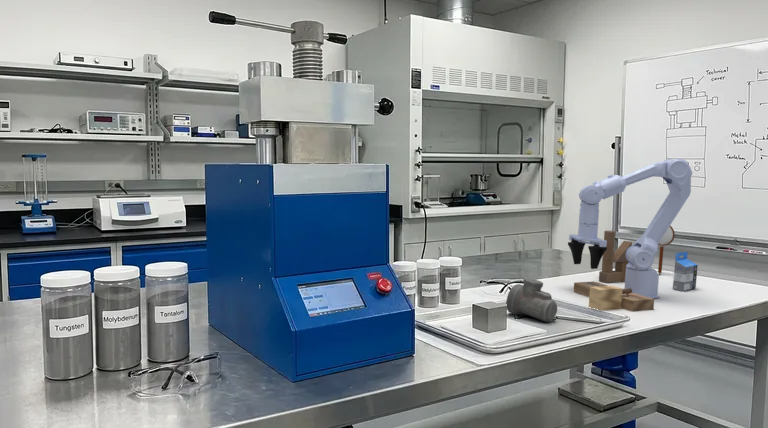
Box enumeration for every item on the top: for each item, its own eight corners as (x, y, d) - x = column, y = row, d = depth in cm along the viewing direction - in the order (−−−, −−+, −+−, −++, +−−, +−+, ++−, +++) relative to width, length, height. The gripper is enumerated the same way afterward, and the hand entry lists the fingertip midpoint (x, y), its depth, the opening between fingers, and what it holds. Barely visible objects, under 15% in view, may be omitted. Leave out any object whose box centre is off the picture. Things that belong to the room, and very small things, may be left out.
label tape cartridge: (683, 292, 184) (687, 254, 182) (671, 289, 187) (674, 253, 186) (696, 289, 189) (699, 253, 188) (684, 286, 192) (687, 251, 191)
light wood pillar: (623, 304, 164) (625, 284, 164) (634, 308, 160) (636, 287, 160) (588, 307, 159) (590, 286, 159) (598, 311, 156) (600, 289, 155)
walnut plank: (593, 290, 181) (594, 281, 181) (653, 309, 159) (654, 298, 159) (573, 291, 178) (574, 282, 178) (631, 311, 156) (632, 300, 156)
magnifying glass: (672, 277, 209) (676, 223, 207) (669, 277, 208) (674, 224, 206) (649, 273, 216) (653, 221, 214) (647, 273, 215) (651, 221, 213)
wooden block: (629, 281, 198) (633, 231, 196) (606, 283, 193) (609, 231, 192) (621, 279, 201) (624, 229, 199) (598, 281, 197) (601, 230, 195)
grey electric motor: (501, 313, 148) (509, 275, 147) (518, 310, 154) (526, 274, 152) (540, 329, 139) (549, 289, 138) (557, 326, 145) (565, 288, 144)
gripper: (562, 221, 181) (560, 262, 182) (595, 226, 168) (592, 271, 169) (580, 221, 184) (577, 261, 185) (613, 226, 170) (610, 270, 172)
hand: (585, 266), depth 177 cm, fingers open, 7 cm apart
